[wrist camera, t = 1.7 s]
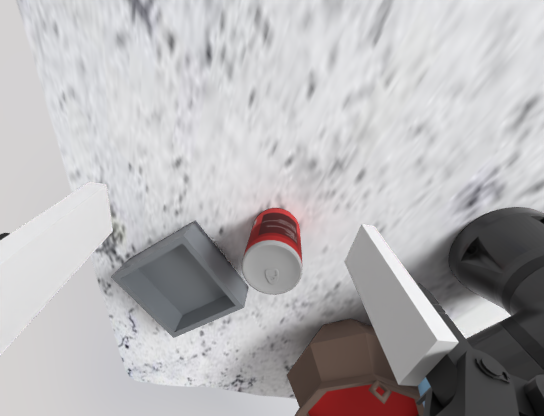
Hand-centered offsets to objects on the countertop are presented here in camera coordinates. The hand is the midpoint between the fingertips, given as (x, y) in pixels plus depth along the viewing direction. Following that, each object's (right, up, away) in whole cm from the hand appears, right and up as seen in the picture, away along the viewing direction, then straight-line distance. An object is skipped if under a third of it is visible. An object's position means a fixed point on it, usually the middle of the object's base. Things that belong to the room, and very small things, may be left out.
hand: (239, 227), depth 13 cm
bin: (-14, -11, +32) cm, 37 cm away
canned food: (+2, -2, +28) cm, 28 cm away
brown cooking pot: (+17, -27, +37) cm, 49 cm away
